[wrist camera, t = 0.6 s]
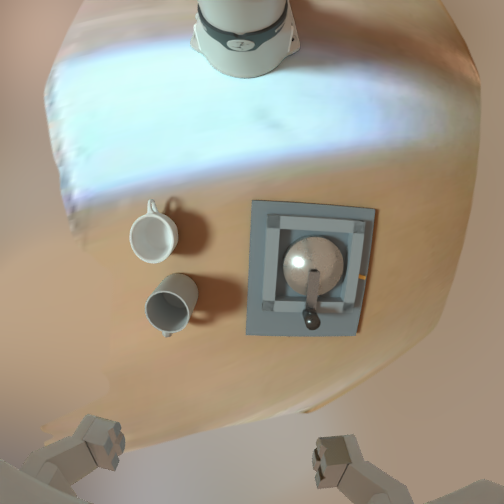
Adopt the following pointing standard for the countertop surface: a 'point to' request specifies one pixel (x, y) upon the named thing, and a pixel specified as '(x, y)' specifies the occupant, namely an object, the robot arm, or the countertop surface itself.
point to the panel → (272, 277)
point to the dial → (312, 271)
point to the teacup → (153, 235)
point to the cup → (172, 304)
